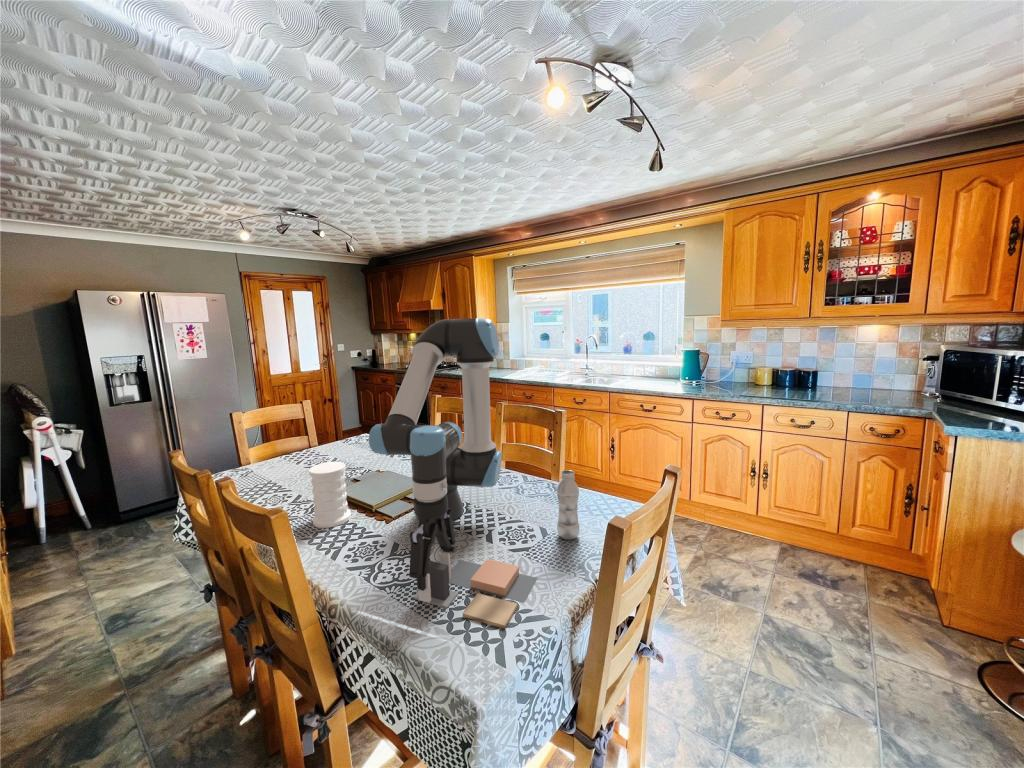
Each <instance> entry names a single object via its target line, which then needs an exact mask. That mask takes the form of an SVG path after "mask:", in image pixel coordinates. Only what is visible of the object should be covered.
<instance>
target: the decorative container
mask: <svg viewBox="0 0 1024 768" xmlns="http://www.w3.org/2000/svg"><path fill="white" fill-rule="evenodd" d="M346 469H347V467H346V464H345V463H344V462H343V461H342V462H341V461H328V462H322V463H319V464H318V463H317V464H316V465H313V466H311V467H309V470H308V475H309V476H310V477H311V481H310V483H311V485H312V490H311V491H312V495H313V498H312V499H313V501H312V502H313V504H314V508H313V512H314V516H313V517H312V525H313V526H314V527H316V528H319V529H321V528H322V529H326V528H327V529H328V528H334V527H338V526H340V525H343V524H345V523H347V522H348V521H350V519H351V517H352V513H351V510H350V509H349V508H348V506H349V504H348V500H347V497H348V495H347V491H346V488H347V484H346V482H345V481H346V475H345V473H344V472H345V471H346Z"/></svg>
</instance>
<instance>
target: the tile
mask: <svg viewBox="0 0 1024 768" xmlns="http://www.w3.org/2000/svg"><path fill="white" fill-rule="evenodd" d="M481 565H482V566H481V567H480V568H479V569H478V571H477V572H476V573H475V574H474V576H473V577H472V578H471V579H470V582H471V587H472V588H476V589H480V590H484V591H488V592H492V593H496V594H499V595H503V596H505V595H506V594H507V592H508V591H509V589H510V587H511V586H512V584H513V583H514V581H515V579H516V578H517V576H518V575H519V574H520V566H519V565H516V564H515V565H514V564H511V563H507V562H504V561H503V562H502V561H498V560H493V559H489V558H486V560H484V562H483V563H482V564H481Z"/></svg>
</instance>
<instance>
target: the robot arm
mask: <svg viewBox="0 0 1024 768" xmlns="http://www.w3.org/2000/svg"><path fill="white" fill-rule="evenodd" d="M499 353H500V343H499V335H498V330H497V327H496V325H495V323H494V321H492V320H491V319H490V318H480V317H479V318H478V317H476V318H452V319H451V318H446V319H441V320H438V321H436V322H434V323H432V324H431V325H430V326H428V328H426V329H424V330H423V331H422V333H421V334H420V335H419V336H418V337H417V339H416V340H415V342H414V345H413V347H412V350H411V355H412V358H411V360H410V362H409V363H410V364H409V365H408V367H407V370H406V372H405V374H404V377H403V380H402V382H401V385H400V387H399V390H397V391H398V392H397V394H396V397H395V399H394V401H393V404H392V406H391V409H390V411H389V413H388V415H387V418H386V420H385V422H384V423H382V422H381V423H377V424H375V425H374V426H372V427H371V428H370V431H369V435H368V445H369V448H370V450H371V451H372V452H373V453H374V454H378V455H386V456H392V455H395V456H396V455H398V456H410V462H411V472H412V473H411V474H412V476H411V477H412V479H411V481H412V496H413V509H414V510H413V511H414V512H413V513H414V515H415V516H416V518H417V519H418V525H417V529H416V530H415V531H411V532H409V541H410V551H409V552H410V553H409V554H410V555H409V557H410V558H409V574H408V575H409V577H410V578H412V579H416V586H417V591H418V592H419V600H418V601H420V600H421V602H424V601H425V603H427V602H428V603H427V604H431V603H430V601H431V589H430V574H428V573H427V571H428V565H429V561H430V559H431V552H432V547H433V544H434V543H435V542H437V543H438V546H439V548H440V551H438V561H439V562H438V563H441V564H445V565H448V569H449V580H450V579H451V569H452V567H451V564H452V563H451V558H452V557H451V553H454V551H455V547H454V546H455V544H456V537H455V530H454V523H453V522H454V521H455V520H458V519H459V518H461V516H462V515H463V514H464V504H463V503H464V502H463V500H462V499H461V496H460V493H459V490H458V486H459V487H475V488H491V487H495V485H497V483H498V481H499V478H500V473H501V468H502V462H503V460H502V459H503V458H502V457H503V456H502V452H501V451H500V450H497V444H496V443H495V442H494V441H493V440H492V427H491V426H492V423H491V419H492V417H491V392H490V391H491V389H490V387H491V384H490V366H492V364H493V363H494V361H495V357H497V356H498V355H499ZM447 357H456V364H457V365H458V366H459V367H460V368H461V381H462V407H463V408H462V409H463V430H464V431H463V432H462V429H461V427H460V426H459V425H458V424H456V423H454V422H452V421H445V422H442V423H439V424H438V425H433V424H431V425H429V424H427V425H426V424H417V423H418V421H419V417H420V415H421V411H422V409H423V407H424V404H425V401H426V399H427V395H428V393H429V389H430V388H431V384H432V381H433V378H434V376H435V373H436V371H437V367H438V366H439V365H440V364H442V363H443V360H444V358H447ZM463 433H464V435H463ZM463 437H464V441H463ZM435 539H436V541H435ZM418 592H417V593H418Z"/></svg>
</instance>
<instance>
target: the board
mask: <svg viewBox="0 0 1024 768" xmlns="http://www.w3.org/2000/svg"><path fill="white" fill-rule="evenodd" d="M517 608H518V603H516V602H512V601H509V600H505V599H500V598H498V597H492V596H490V595H486V594H482V593H479V592H478V593H476V594H475V596H474V597H473V599H472V600H471V601H470V603H469V604H468V605H467V607H466V608H465V609H464V611H463V612H462V617H463V618H467V619H469V620H474V621H477V622H481V623H484V624H487V625H490V626H495V627H498V628H501V629H503V630H504V629H507V627H508V625H509V623H510V621H511V619H512V617H513V616H514V614H515V612H516V610H517Z"/></svg>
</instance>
